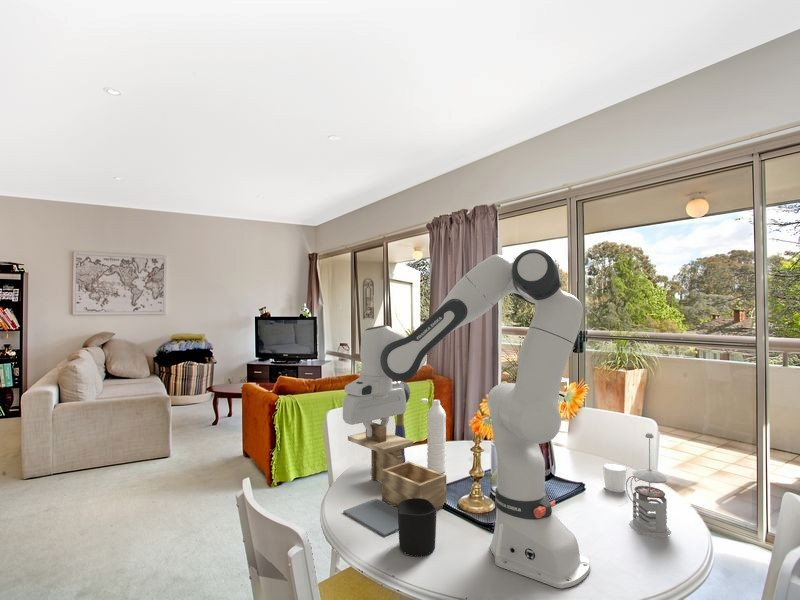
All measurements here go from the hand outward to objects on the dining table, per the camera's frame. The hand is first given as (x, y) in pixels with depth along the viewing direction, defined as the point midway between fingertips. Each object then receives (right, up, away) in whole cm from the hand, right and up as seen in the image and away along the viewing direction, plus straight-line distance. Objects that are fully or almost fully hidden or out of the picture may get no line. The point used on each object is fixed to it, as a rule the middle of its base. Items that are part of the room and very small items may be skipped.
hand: (376, 434), depth 125 cm
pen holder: (+11, -23, -15) cm, 30 cm away
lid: (+1, -3, +1) cm, 3 cm away
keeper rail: (+3, -23, +24) cm, 34 cm away
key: (+3, -13, +24) cm, 27 cm away
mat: (+1, -23, +1) cm, 23 cm away
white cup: (+75, -23, +20) cm, 81 cm away
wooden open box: (+11, -23, +10) cm, 27 cm away
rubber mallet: (+7, -23, +41) cm, 48 cm away
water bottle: (+18, -23, +36) cm, 47 cm away
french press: (+72, -23, -4) cm, 76 cm away
